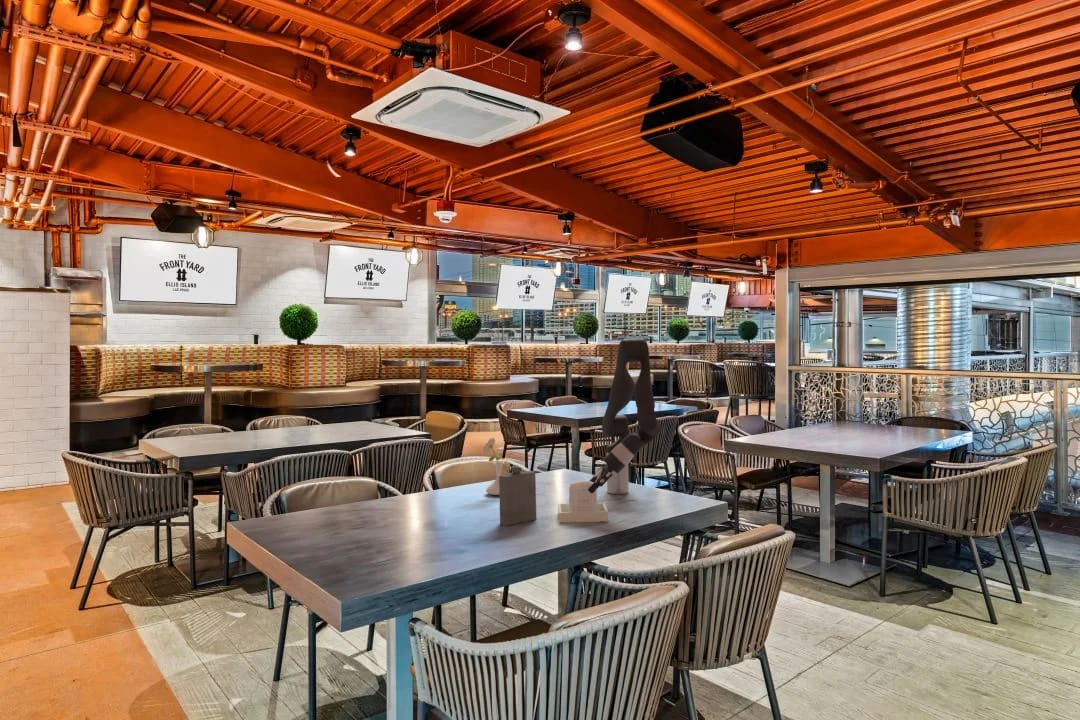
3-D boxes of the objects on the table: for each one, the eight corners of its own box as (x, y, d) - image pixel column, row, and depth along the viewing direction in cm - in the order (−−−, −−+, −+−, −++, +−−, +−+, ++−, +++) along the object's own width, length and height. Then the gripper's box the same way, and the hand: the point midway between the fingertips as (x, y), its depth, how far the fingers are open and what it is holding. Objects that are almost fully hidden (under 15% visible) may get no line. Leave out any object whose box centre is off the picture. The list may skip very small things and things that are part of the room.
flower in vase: (501, 490, 292) (499, 434, 292) (517, 494, 284) (516, 436, 283) (477, 495, 283) (476, 437, 283) (494, 499, 275) (492, 439, 275)
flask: (530, 516, 245) (528, 463, 245) (539, 519, 241) (537, 465, 240) (496, 523, 237) (494, 468, 236) (504, 526, 232) (503, 470, 232)
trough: (558, 513, 250) (558, 503, 250) (604, 511, 250) (604, 502, 250) (559, 522, 236) (559, 512, 236) (608, 521, 236) (608, 511, 236)
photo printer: (596, 512, 246) (595, 479, 245) (597, 515, 241) (597, 481, 241) (568, 513, 245) (568, 480, 245) (570, 516, 241) (569, 482, 240)
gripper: (609, 447, 250) (580, 478, 250) (613, 454, 235) (582, 486, 236) (623, 461, 250) (594, 491, 250) (629, 468, 235) (597, 500, 236)
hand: (588, 489), depth 243 cm, fingers open, 8 cm apart
